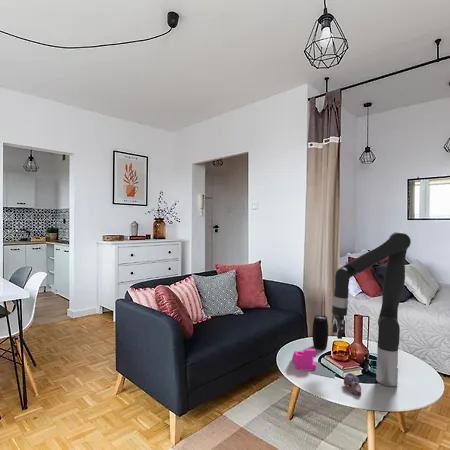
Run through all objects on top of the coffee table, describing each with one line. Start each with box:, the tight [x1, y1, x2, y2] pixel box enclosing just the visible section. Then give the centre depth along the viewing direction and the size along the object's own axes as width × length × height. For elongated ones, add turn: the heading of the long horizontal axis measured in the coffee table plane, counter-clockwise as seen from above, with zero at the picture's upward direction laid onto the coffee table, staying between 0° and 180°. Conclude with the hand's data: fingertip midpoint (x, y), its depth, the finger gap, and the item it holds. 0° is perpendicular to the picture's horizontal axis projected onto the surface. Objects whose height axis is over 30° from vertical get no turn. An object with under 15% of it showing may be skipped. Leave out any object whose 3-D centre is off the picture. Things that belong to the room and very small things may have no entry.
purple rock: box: [343, 372, 362, 397], centre depth 151 cm, size 12×8×6 cm, turn 172°
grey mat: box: [310, 361, 336, 379], centre depth 171 cm, size 12×14×1 cm
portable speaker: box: [312, 314, 329, 351], centre depth 199 cm, size 9×9×20 cm
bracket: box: [291, 348, 317, 371], centre depth 176 cm, size 12×10×10 cm
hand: (337, 335), depth 168 cm, fingers open, 8 cm apart
